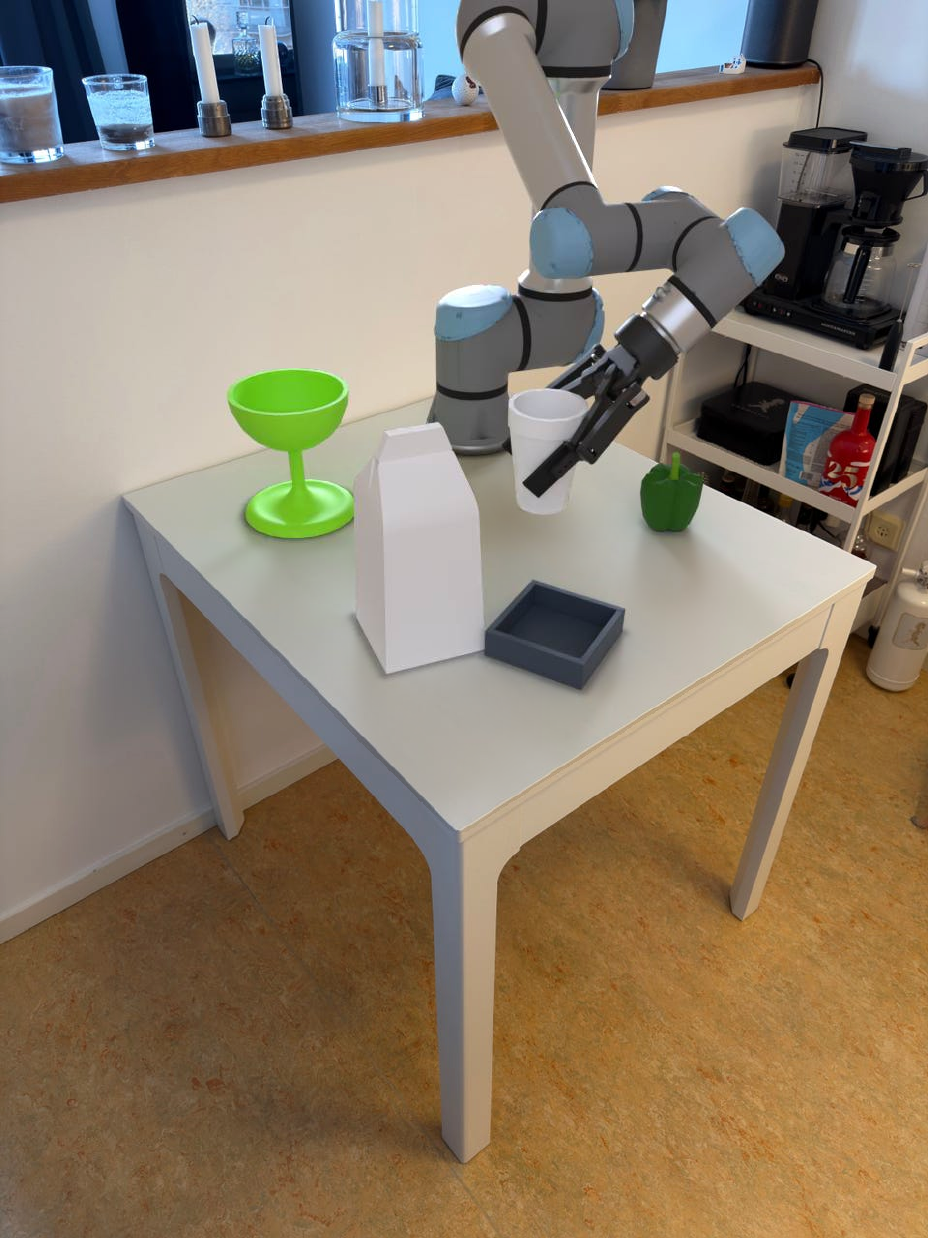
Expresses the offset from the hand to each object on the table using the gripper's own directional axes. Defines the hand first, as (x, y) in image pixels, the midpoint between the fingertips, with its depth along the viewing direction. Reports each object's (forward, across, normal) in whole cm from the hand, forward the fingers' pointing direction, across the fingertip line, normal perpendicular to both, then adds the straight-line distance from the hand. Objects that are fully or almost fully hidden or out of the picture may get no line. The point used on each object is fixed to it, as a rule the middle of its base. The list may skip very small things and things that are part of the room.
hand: (519, 470), depth 109 cm
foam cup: (+1, 0, +6) cm, 6 cm away
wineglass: (+29, -21, -8) cm, 37 cm away
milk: (+20, +12, 0) cm, 24 cm away
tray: (+10, +17, +10) cm, 22 cm away
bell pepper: (-7, -6, +27) cm, 29 cm away
